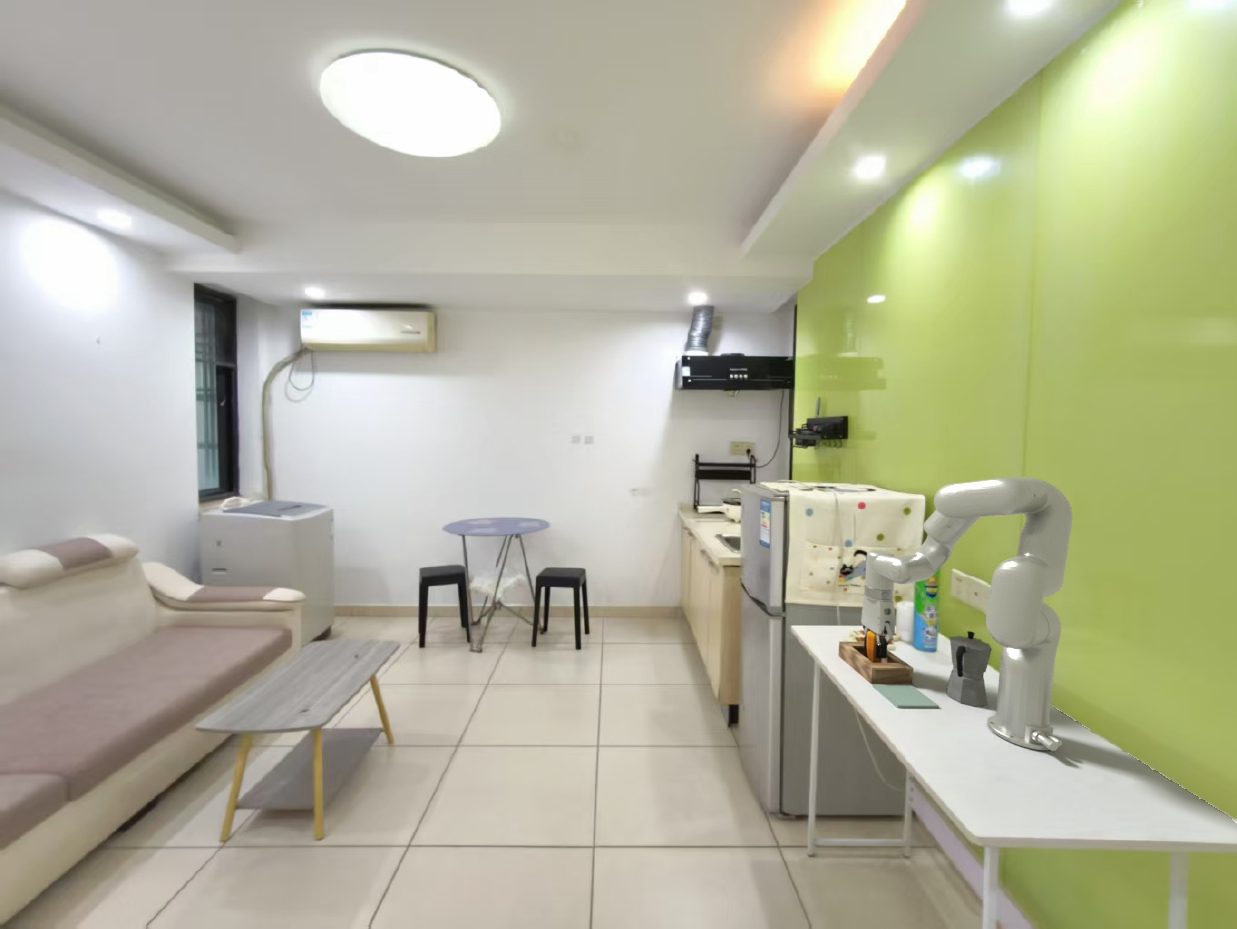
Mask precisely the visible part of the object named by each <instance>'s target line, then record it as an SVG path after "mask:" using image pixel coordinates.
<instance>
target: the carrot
mask: <svg viewBox="0 0 1237 929" xmlns="http://www.w3.org/2000/svg"><path fill="white" fill-rule="evenodd" d="M882 634H884V632H882ZM882 638H884V636H881V639H882ZM876 644H877V636H876V633H875V632H873V631H868V632H867V654H868V658H867V659H869V660H870V661H871V662H872V663H880V662H881V660H882V658H876V657H875V646H876Z"/></svg>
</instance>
